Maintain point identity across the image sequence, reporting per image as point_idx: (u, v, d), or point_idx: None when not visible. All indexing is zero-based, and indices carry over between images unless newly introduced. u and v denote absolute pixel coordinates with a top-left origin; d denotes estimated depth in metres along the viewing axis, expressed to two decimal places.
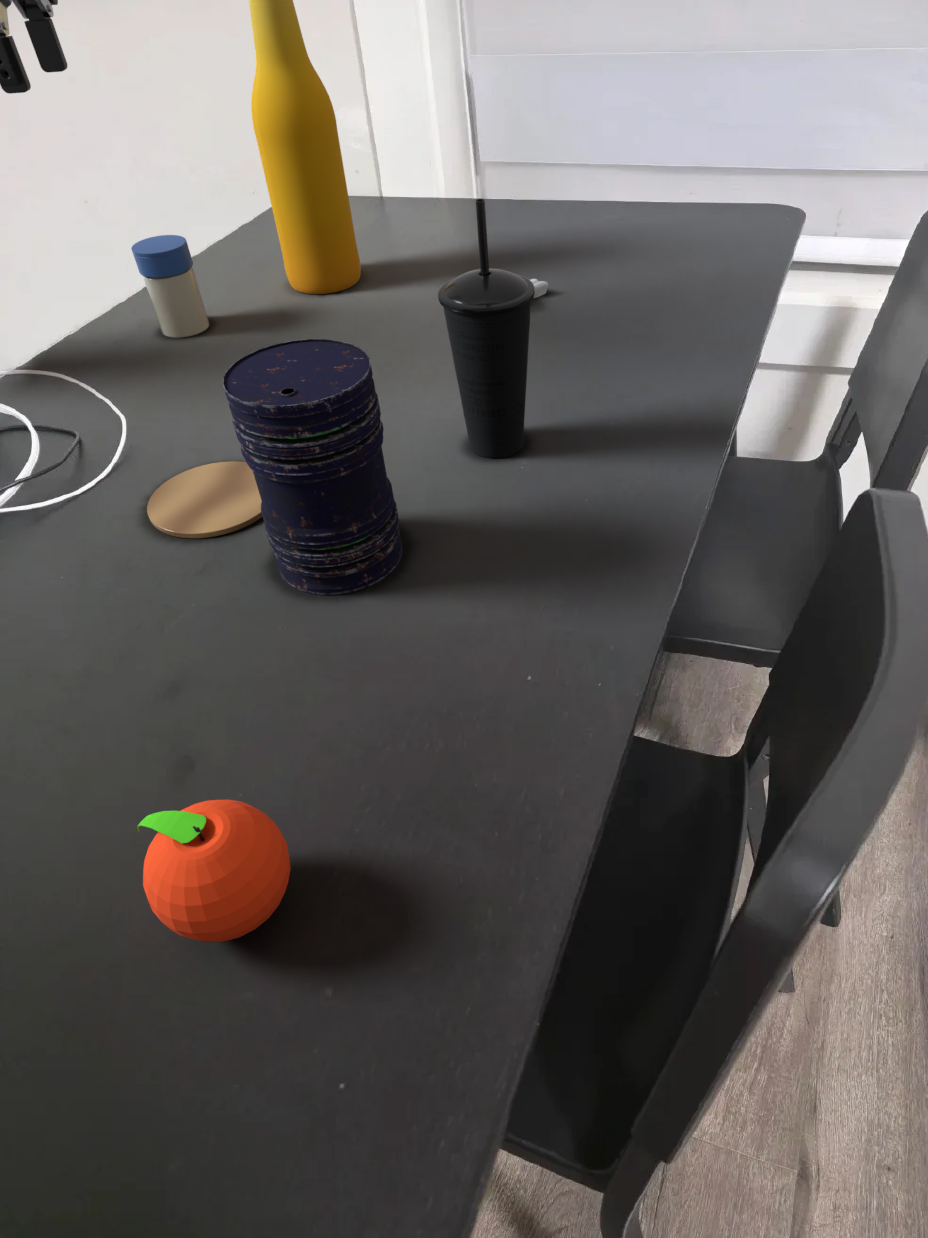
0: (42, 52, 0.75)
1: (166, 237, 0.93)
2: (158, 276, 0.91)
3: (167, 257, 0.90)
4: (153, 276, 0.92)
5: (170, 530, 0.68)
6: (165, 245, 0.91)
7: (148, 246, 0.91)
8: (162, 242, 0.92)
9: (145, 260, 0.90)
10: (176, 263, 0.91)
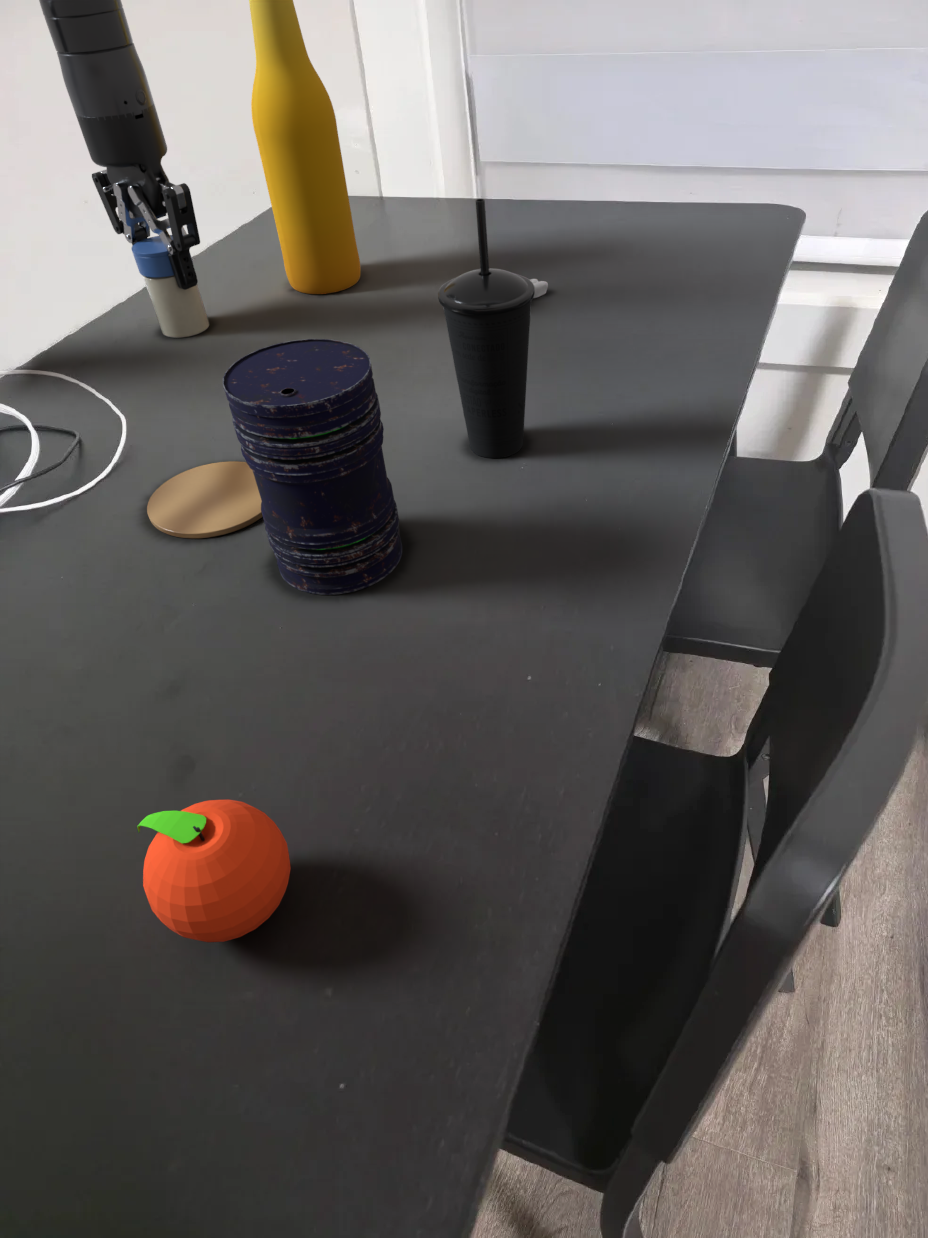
0: None
1: None
2: (158, 276, 0.91)
3: (167, 257, 0.90)
4: (153, 276, 0.92)
5: (170, 530, 0.68)
6: None
7: (148, 246, 0.91)
8: (162, 242, 0.92)
9: (145, 260, 0.90)
10: None
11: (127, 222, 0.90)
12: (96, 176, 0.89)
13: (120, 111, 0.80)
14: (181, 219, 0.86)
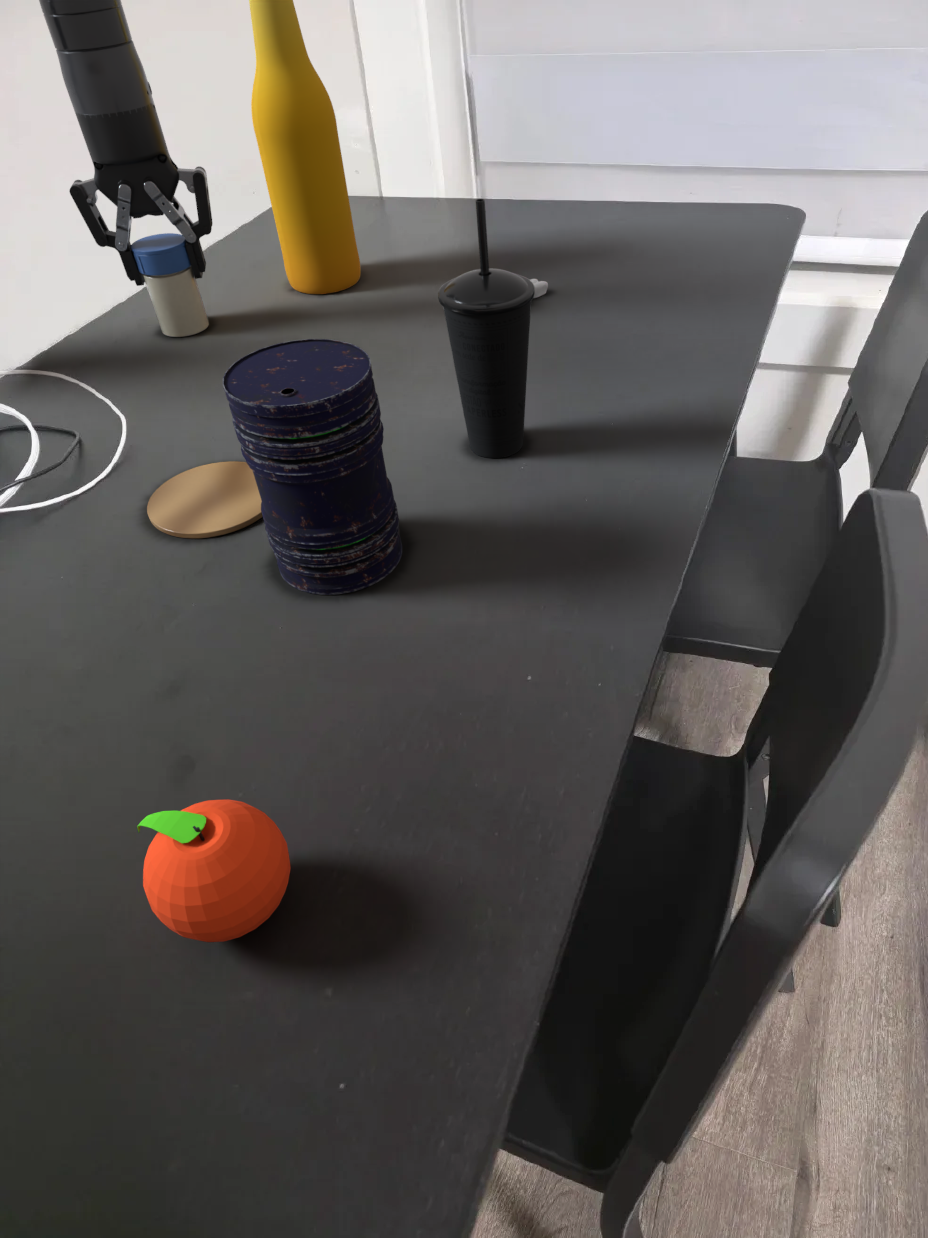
0: None
1: (150, 238, 0.93)
2: (180, 270, 0.92)
3: (184, 248, 0.92)
4: (175, 271, 0.92)
5: (170, 530, 0.68)
6: (168, 240, 0.92)
7: (153, 245, 0.91)
8: (158, 240, 0.92)
9: (166, 256, 0.91)
10: None
11: (128, 226, 0.89)
12: (78, 188, 0.86)
13: (146, 101, 0.82)
14: (208, 201, 0.90)
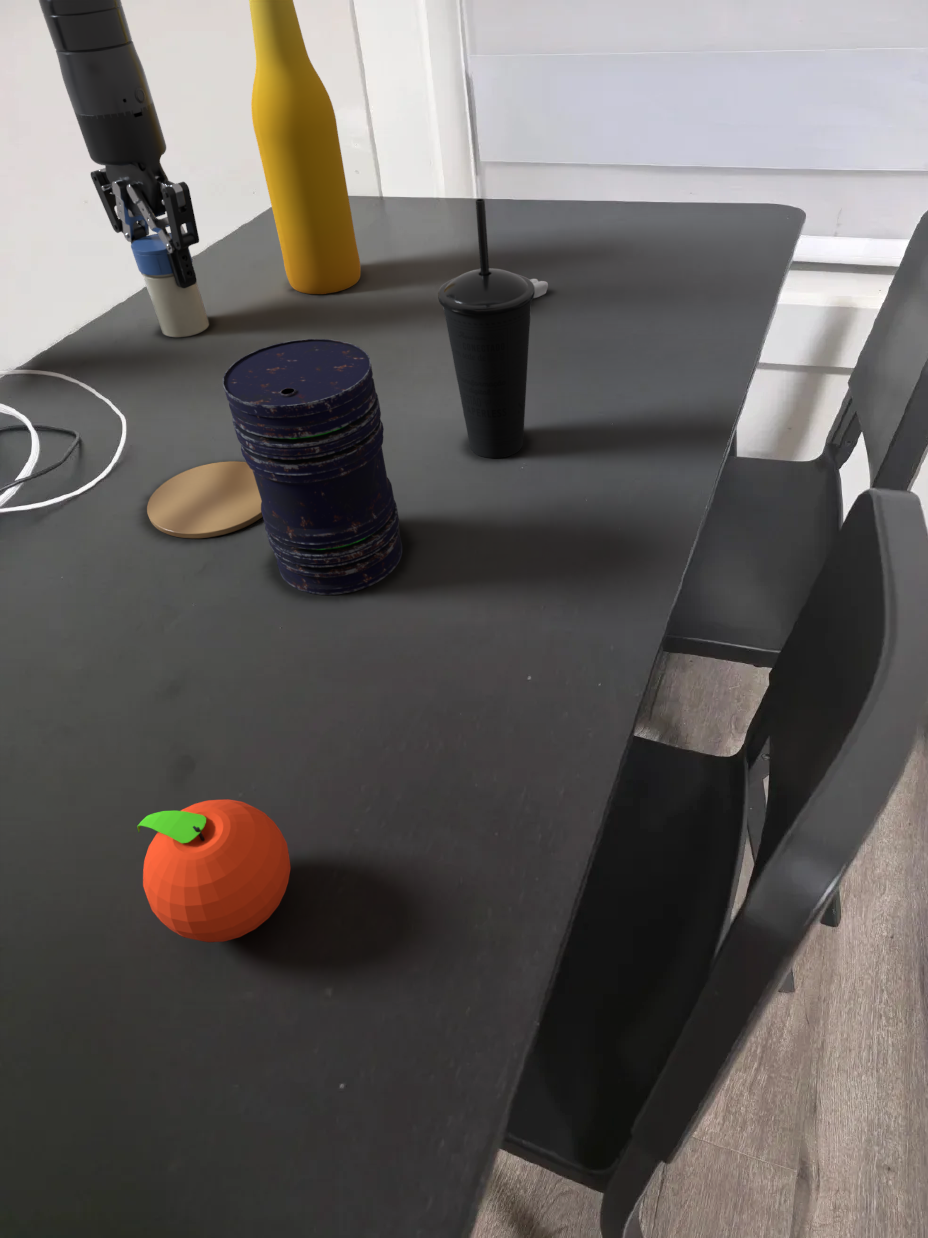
0: None
1: (140, 241, 0.92)
2: None
3: None
4: None
5: (170, 530, 0.68)
6: None
7: (161, 244, 0.91)
8: (155, 240, 0.92)
9: None
10: None
11: (125, 220, 0.90)
12: (95, 174, 0.89)
13: (119, 109, 0.80)
14: (180, 218, 0.86)
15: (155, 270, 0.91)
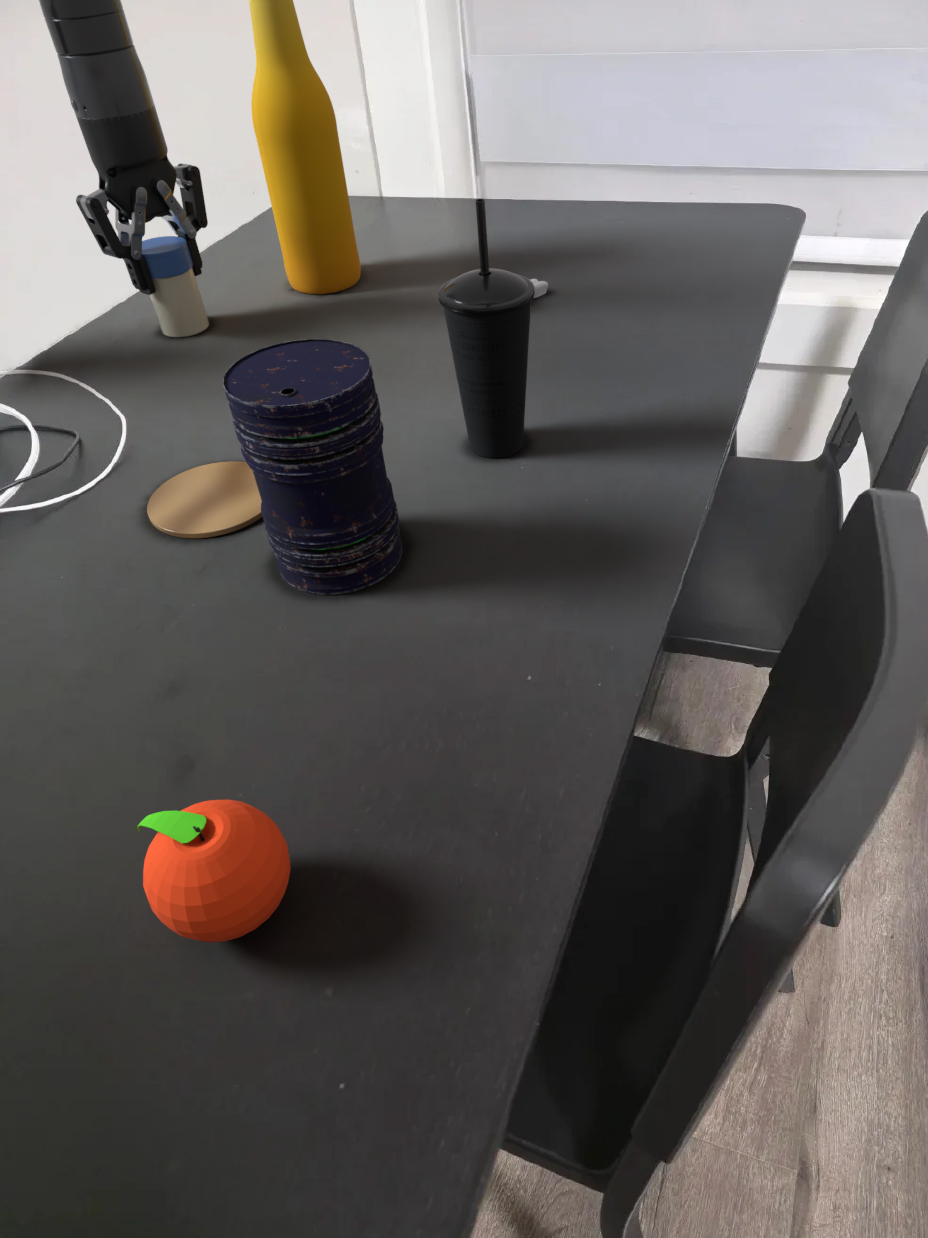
0: None
1: (150, 251, 0.90)
2: None
3: None
4: None
5: (170, 530, 0.68)
6: (152, 243, 0.92)
7: (169, 242, 0.92)
8: (155, 246, 0.92)
9: None
10: None
11: (144, 230, 0.88)
12: (97, 199, 0.84)
13: (152, 100, 0.84)
14: None
15: (190, 263, 0.93)
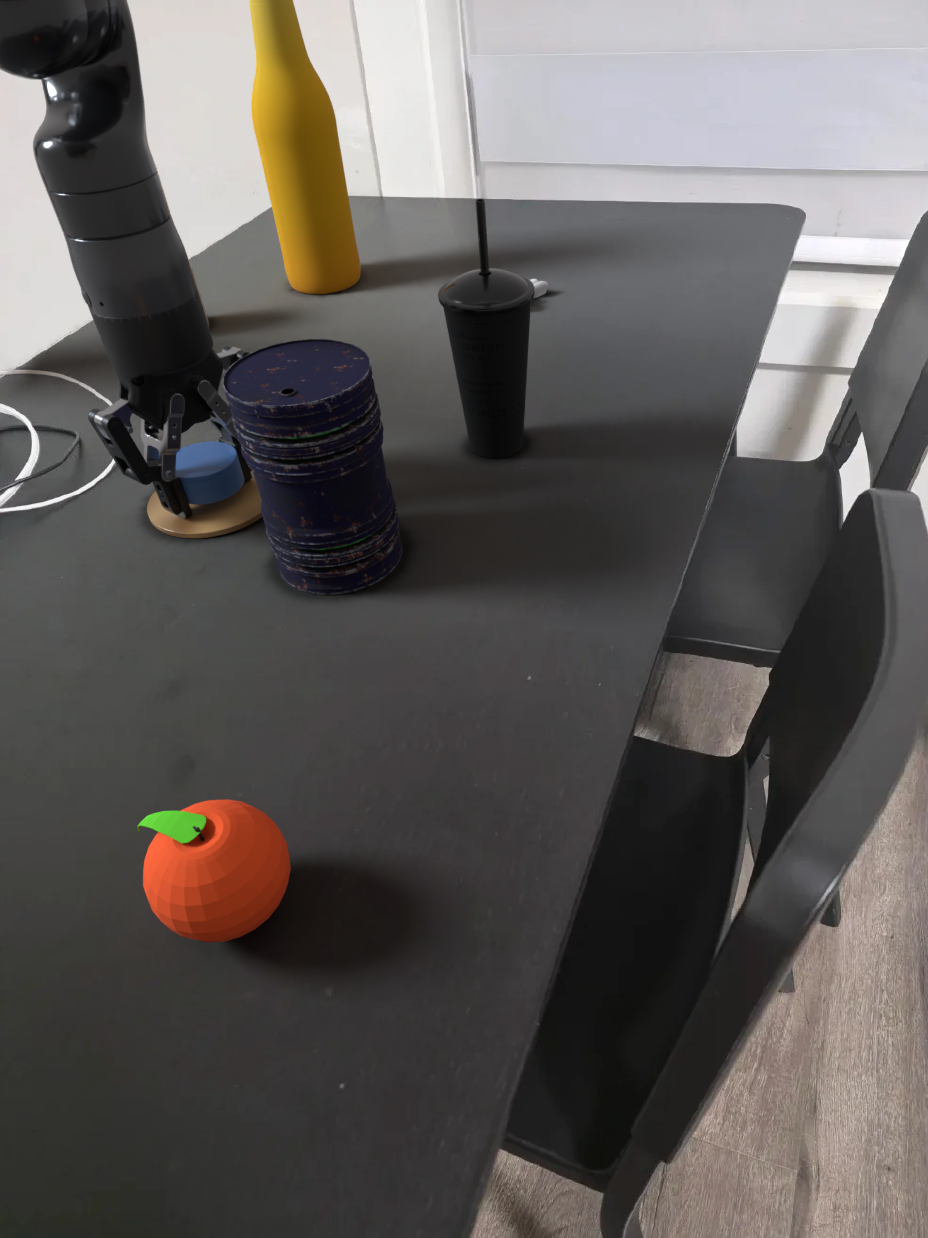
0: None
1: (224, 459, 0.69)
2: None
3: None
4: None
5: (170, 530, 0.68)
6: (189, 465, 0.68)
7: (195, 453, 0.70)
8: (204, 460, 0.69)
9: None
10: None
11: (179, 446, 0.65)
12: (117, 418, 0.61)
13: None
14: None
15: None
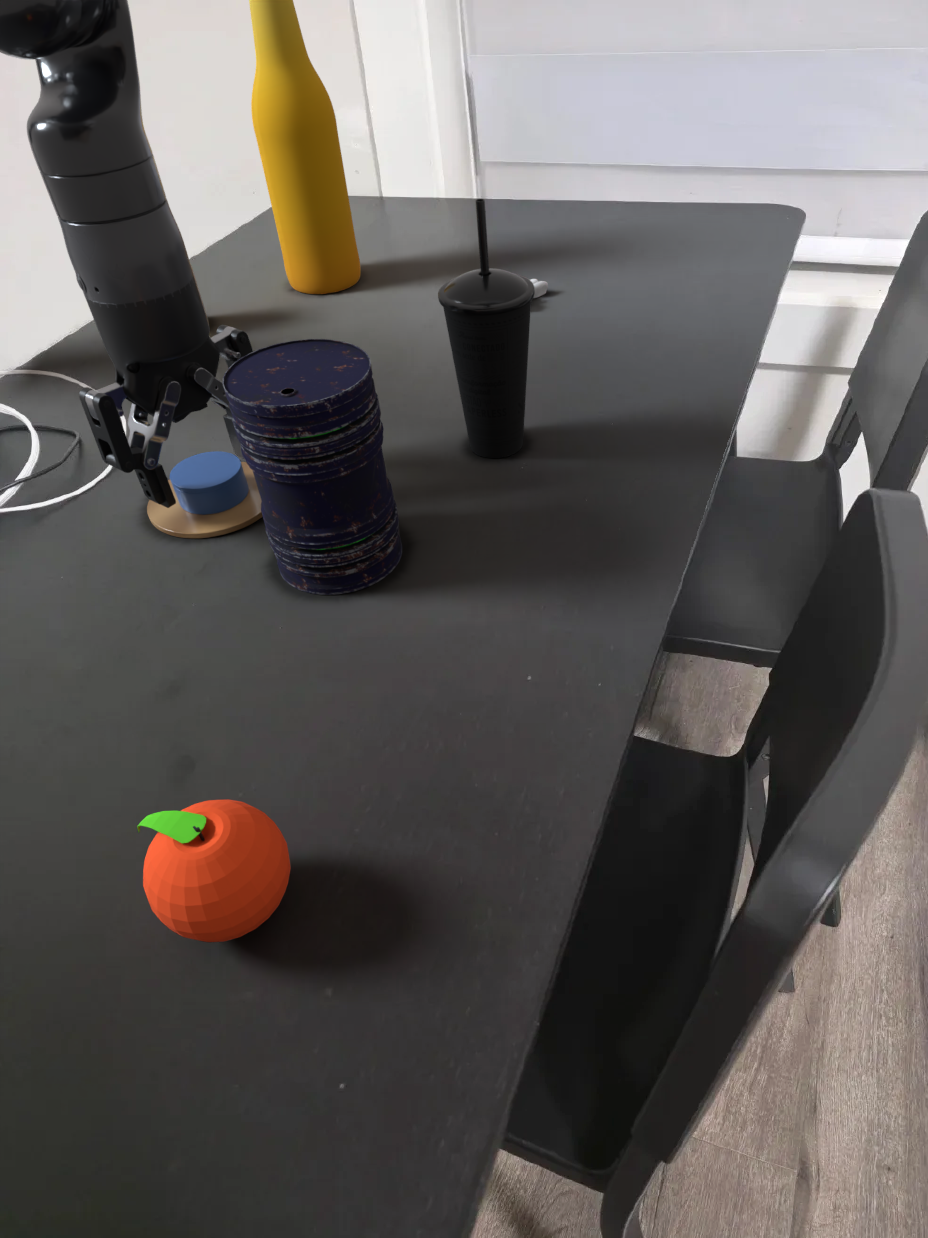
0: None
1: (228, 470, 0.70)
2: None
3: (173, 486, 0.69)
4: None
5: (170, 530, 0.68)
6: (195, 475, 0.69)
7: (200, 463, 0.71)
8: (209, 471, 0.70)
9: None
10: (179, 499, 0.69)
11: (167, 435, 0.64)
12: (110, 398, 0.60)
13: (190, 267, 0.60)
14: None
15: None
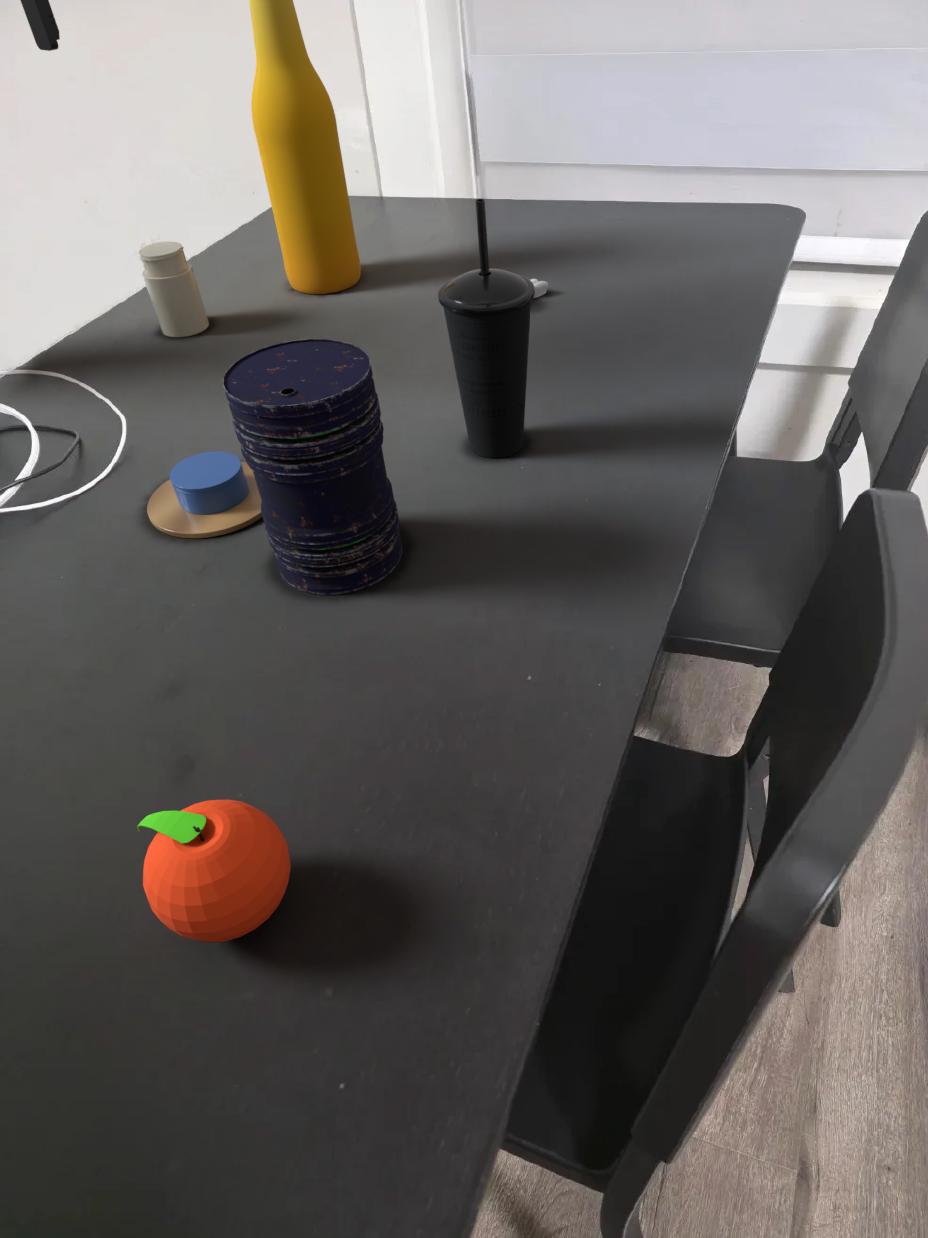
0: None
1: (228, 470, 0.70)
2: None
3: (173, 486, 0.69)
4: None
5: (170, 530, 0.68)
6: (195, 475, 0.69)
7: (200, 463, 0.71)
8: (209, 471, 0.70)
9: None
10: (179, 499, 0.69)
11: None
12: None
13: None
14: None
15: None
